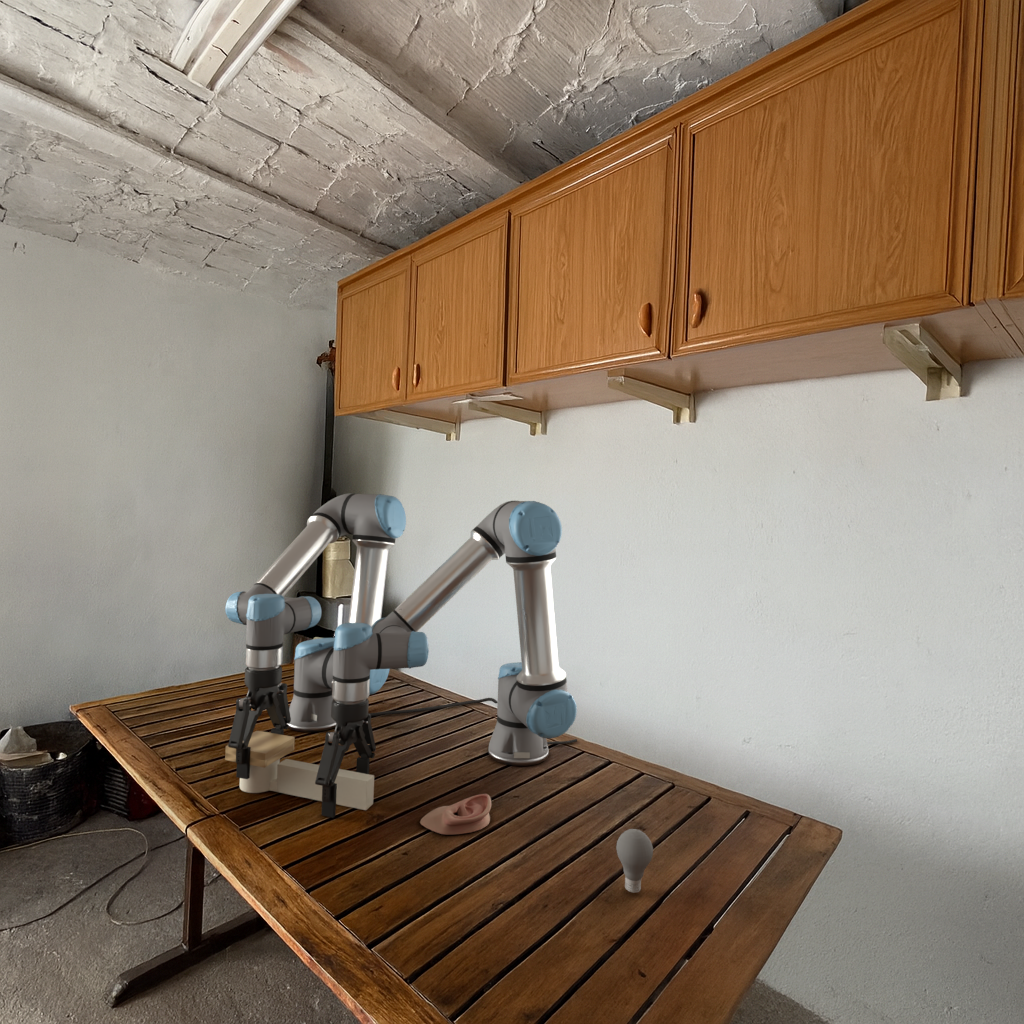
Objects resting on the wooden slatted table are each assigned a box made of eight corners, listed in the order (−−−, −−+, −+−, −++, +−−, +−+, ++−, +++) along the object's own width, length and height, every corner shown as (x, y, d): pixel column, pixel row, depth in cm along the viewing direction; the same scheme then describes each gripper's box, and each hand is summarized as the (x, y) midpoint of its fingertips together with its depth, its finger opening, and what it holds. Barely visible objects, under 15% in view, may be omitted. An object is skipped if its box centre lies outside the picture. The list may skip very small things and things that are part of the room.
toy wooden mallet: (231, 789, 135) (232, 752, 135) (256, 774, 143) (257, 739, 143) (359, 816, 126) (361, 776, 126) (379, 798, 134) (380, 761, 134)
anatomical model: (415, 809, 122) (434, 784, 133) (414, 830, 122) (433, 802, 133) (482, 819, 119) (496, 792, 130) (481, 840, 119) (495, 811, 130)
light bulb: (610, 879, 108) (613, 822, 108) (644, 879, 109) (647, 822, 109) (619, 902, 102) (622, 840, 102) (655, 901, 103) (658, 840, 103)
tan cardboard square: (225, 760, 135) (225, 746, 135) (256, 743, 144) (257, 730, 144) (264, 767, 132) (265, 753, 132) (294, 750, 141) (294, 736, 141)
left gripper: (282, 652, 150) (278, 746, 150) (210, 677, 128) (207, 786, 128) (309, 656, 147) (306, 751, 148) (241, 681, 126) (237, 792, 126)
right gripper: (364, 681, 144) (360, 774, 145) (298, 714, 121) (294, 825, 121) (394, 685, 142) (389, 780, 142) (333, 720, 119) (328, 833, 119)
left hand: (260, 767), depth 138 cm, fingers closed on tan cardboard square, 10 cm apart
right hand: (345, 801), depth 132 cm, fingers open, 12 cm apart
